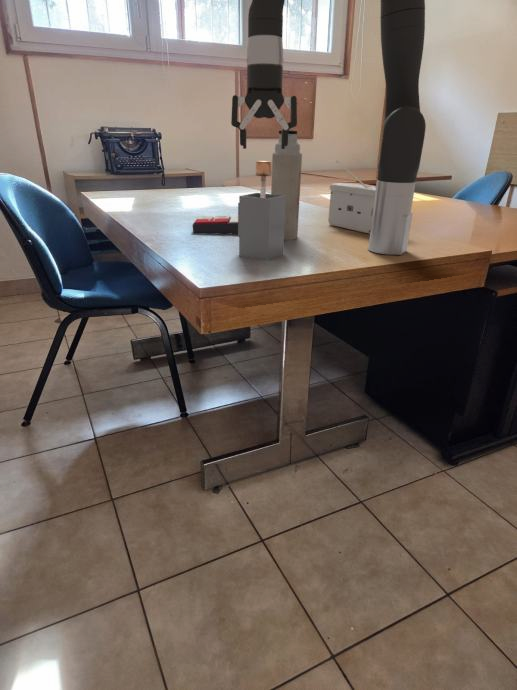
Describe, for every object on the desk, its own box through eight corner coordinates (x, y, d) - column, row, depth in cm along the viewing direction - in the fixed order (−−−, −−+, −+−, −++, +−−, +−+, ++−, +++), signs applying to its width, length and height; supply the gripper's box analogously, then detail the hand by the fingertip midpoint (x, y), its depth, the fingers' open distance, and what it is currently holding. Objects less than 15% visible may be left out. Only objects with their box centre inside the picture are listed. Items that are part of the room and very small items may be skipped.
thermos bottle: (298, 234, 134) (305, 130, 122) (295, 240, 127) (301, 130, 115) (272, 233, 135) (275, 129, 123) (267, 238, 128) (270, 129, 116)
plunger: (278, 247, 112) (281, 161, 103) (266, 252, 107) (269, 162, 99) (257, 244, 115) (258, 160, 106) (244, 249, 110) (245, 161, 101)
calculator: (196, 215, 142) (244, 214, 141) (198, 229, 143) (245, 228, 143) (191, 221, 132) (243, 220, 131) (193, 236, 134) (243, 235, 133)
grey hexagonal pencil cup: (283, 253, 113) (285, 195, 107) (267, 260, 107) (269, 199, 101) (248, 248, 118) (248, 192, 112) (231, 254, 111) (231, 195, 105)
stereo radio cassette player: (391, 233, 139) (401, 163, 130) (374, 236, 134) (383, 164, 126) (341, 223, 154) (347, 159, 145) (324, 225, 149) (329, 160, 141)
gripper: (297, 67, 98) (294, 148, 105) (231, 66, 98) (232, 148, 104) (300, 62, 91) (296, 149, 98) (229, 61, 91) (231, 149, 98)
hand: (263, 148), depth 101 cm, fingers open, 8 cm apart
